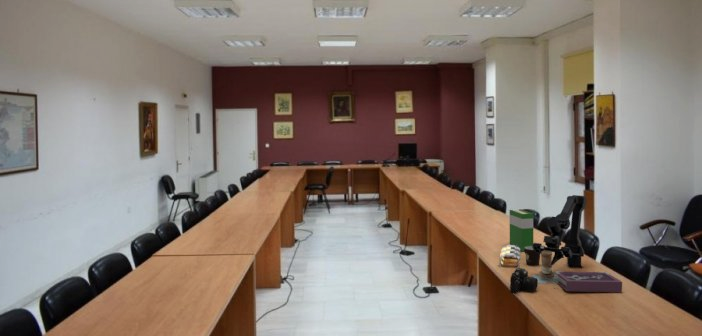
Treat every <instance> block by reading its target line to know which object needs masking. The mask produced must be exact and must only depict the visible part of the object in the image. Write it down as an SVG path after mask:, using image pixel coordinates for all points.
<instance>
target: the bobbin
mask: <svg viewBox="0 0 702 336" xmlns="http://www.w3.org/2000/svg"><path fill="white" fill-rule="evenodd" d="M541 254H542V256H541V270H540V271H539V275H540V276H541V277H543V278H553V277H554V275H555V273H554V271H553V265H551V263H552V260H553V252H551V251H548V250H544V251H542V252H541V253H540V255H541Z"/></svg>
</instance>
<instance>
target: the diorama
mask: <svg viewBox="0 0 702 336" xmlns="http://www.w3.org/2000/svg"><path fill="white" fill-rule="evenodd" d="M510 257H512V259H513V258H515V259H517V262H516V269H517V268H520V262H521V252H520V248H519V247H517V245H516V246H515V245H510V244H507V245H506V246H502V247H501V251H500V255H499V266H500V267H501V268H502V267H503V265H504V262H505V258H510Z"/></svg>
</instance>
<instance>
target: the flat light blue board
mask: <svg viewBox="0 0 702 336" xmlns="http://www.w3.org/2000/svg"><path fill="white" fill-rule="evenodd" d="M531 277H534V278H537V280H538V284H545V285H547V284H548V283H553V284H554V285H558V284H557V283H556V282H555V281H554V279H558V275H556V274H554V277H553V278H543V277H541V276H540V274H531Z"/></svg>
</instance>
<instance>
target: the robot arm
mask: <svg viewBox="0 0 702 336" xmlns="http://www.w3.org/2000/svg"><path fill="white" fill-rule="evenodd" d="M565 201H566V202H565V203H564V205H563V207H562V210H561V212H560V213H559V214H557V215H556V216H551V217H550V218H548V219H546V222H545V225H546V227H547V230H549V232H550V233H551V234H550V235H544V236H543V237H544V238H543V243H545V245H543V244H542V243H540V242H533V245H532V248H533V249H534V251H535V252H536V253H540V257H542V254H541V252H542V251H544V250H548V251H551V252H552V253H554V254H553V256H552V263H551V265H552V266H554V265H555V264H556V263H557V262H559V260H561V259H564V258H566V265H567V266H568V268H581V269H582V268H583V266H582V258H583V257H585V250H584V248H583V246H582V242H581V239H580V234H581V233H580V231H581V223H582V214H583V211H584V210H585V209H586V208H587V204H588V198H587V197H586V196H585V195H575V194H573V195H567V197H566V200H565ZM570 217H571V221H570ZM569 228H570V230H569V231H570V232H569V236H568V238H566V239H565V243H564V246H562V241H563V237H565V230H568V229H569ZM560 246H561V247H560Z"/></svg>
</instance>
